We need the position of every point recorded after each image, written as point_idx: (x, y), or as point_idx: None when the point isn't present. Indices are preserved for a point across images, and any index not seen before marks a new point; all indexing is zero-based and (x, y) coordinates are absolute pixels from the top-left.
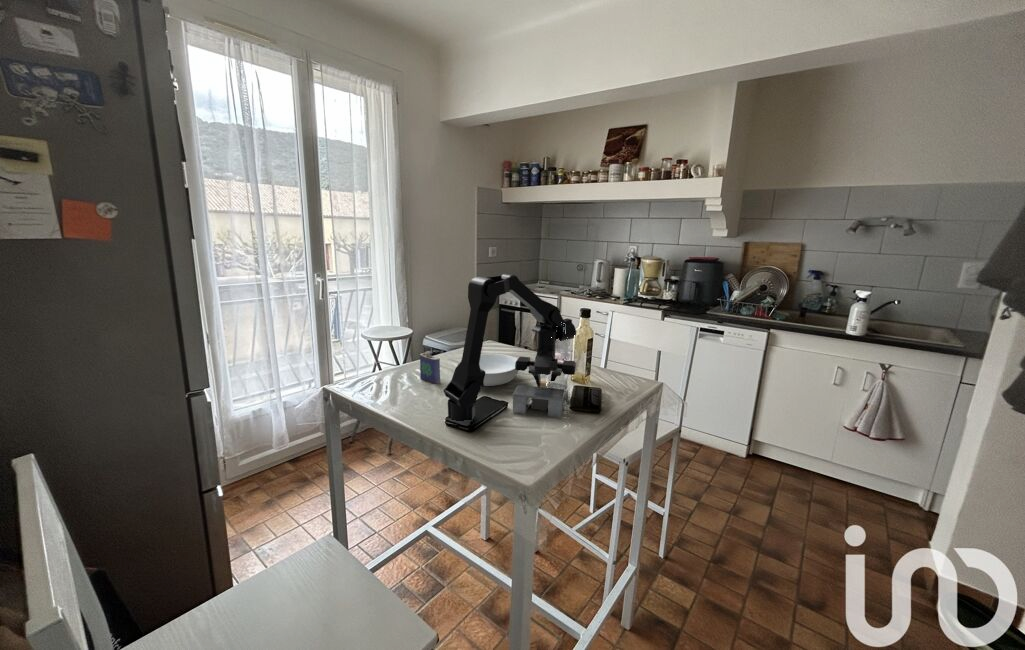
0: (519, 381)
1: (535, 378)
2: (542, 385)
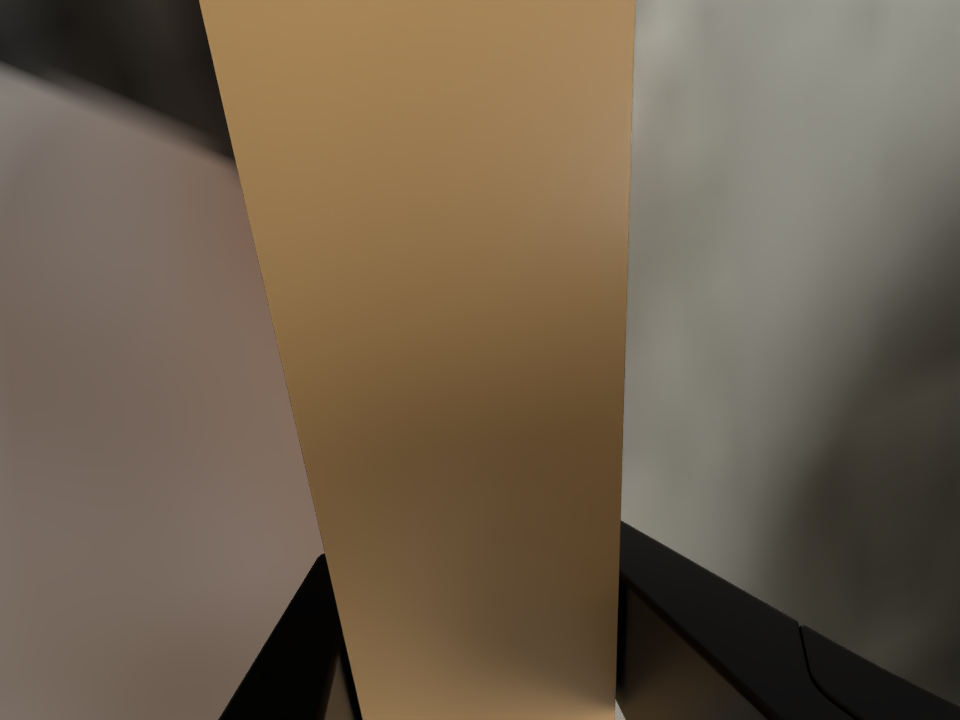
0: None
1: (925, 712)
2: (548, 595)
